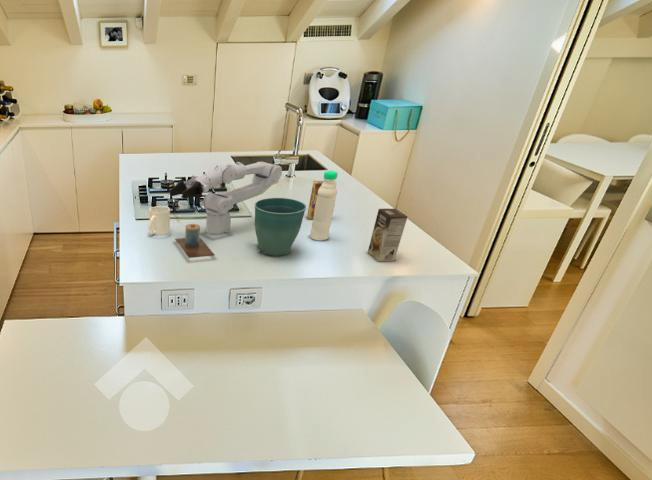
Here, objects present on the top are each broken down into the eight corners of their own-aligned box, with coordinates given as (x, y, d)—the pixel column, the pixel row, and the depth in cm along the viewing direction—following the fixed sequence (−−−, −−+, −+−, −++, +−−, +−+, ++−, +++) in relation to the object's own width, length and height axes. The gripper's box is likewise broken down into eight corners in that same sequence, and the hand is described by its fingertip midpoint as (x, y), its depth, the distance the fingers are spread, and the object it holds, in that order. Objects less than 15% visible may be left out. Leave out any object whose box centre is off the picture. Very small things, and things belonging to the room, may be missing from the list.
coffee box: (366, 252, 188) (377, 208, 179) (383, 251, 189) (395, 207, 179) (377, 261, 181) (390, 216, 171) (395, 261, 181) (408, 215, 172)
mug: (158, 242, 200) (158, 216, 194) (140, 238, 204) (140, 213, 197) (173, 233, 208) (173, 208, 202) (156, 229, 212) (156, 205, 206)
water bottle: (328, 235, 203) (341, 170, 188) (327, 241, 197) (341, 174, 183) (310, 234, 205) (321, 168, 190) (308, 240, 199) (320, 173, 185)
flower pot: (289, 263, 181) (296, 216, 171) (242, 254, 189) (246, 208, 179) (304, 247, 193) (312, 202, 183) (260, 239, 201) (265, 195, 191)
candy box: (308, 219, 219) (314, 183, 210) (306, 216, 222) (312, 180, 213) (329, 219, 218) (336, 183, 209) (327, 216, 222) (334, 180, 213)
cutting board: (174, 242, 200) (174, 238, 199) (199, 240, 201) (199, 236, 200) (188, 261, 184) (188, 257, 183) (214, 259, 185) (215, 255, 184)
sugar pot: (193, 240, 197) (194, 220, 193) (202, 244, 193) (203, 224, 189) (181, 243, 195) (182, 223, 190) (190, 247, 191) (191, 227, 186)
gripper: (191, 169, 193) (163, 181, 188) (216, 172, 182) (187, 185, 178) (194, 188, 197) (166, 200, 192) (218, 192, 186) (190, 205, 182)
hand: (176, 194), depth 185 cm, fingers open, 7 cm apart
